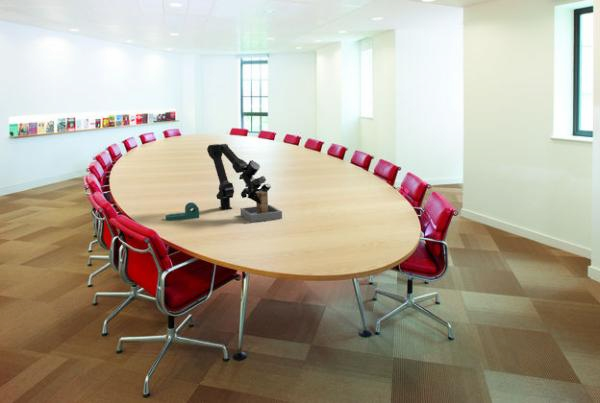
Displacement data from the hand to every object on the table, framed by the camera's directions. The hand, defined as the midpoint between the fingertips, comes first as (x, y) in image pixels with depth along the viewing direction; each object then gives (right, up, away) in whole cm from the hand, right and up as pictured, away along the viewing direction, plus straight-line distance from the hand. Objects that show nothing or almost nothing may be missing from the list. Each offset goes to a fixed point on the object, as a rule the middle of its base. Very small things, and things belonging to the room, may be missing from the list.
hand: (263, 202), depth 267 cm
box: (-2, -8, +3) cm, 9 cm away
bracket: (-46, -9, +4) cm, 47 cm away
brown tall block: (-1, -7, +3) cm, 7 cm away
